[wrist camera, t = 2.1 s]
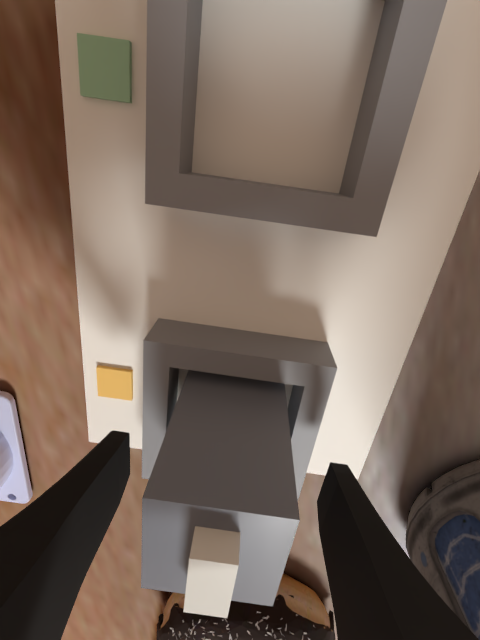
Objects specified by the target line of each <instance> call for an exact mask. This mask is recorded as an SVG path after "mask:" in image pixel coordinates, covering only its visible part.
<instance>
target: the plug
mask: <svg viewBox="0 0 480 640" xmlns="http://www.w3.org/2000/svg"><path fill="white" fill-rule="evenodd" d="M299 521H300V519H299V510H298V500H297V491H296V482H295V473H294V464H293V454H292V445H291V436H290V427H289V418H288V408H287V399H286V390H285V384H284V383H277V382H270V381H263V380H256V379H249V378H242V377H235V376H228V375H221V374H214V373H207V372H200V371H193V370H188V372H187V375H186V378H185V381H184V384H183V386H182V389H181V392H180V395H179V398H178V400H177V403H176V406H175V409H174V411H173V414H172V417H171V420H170V423H169V425H168V428H167V431H166V434H165V436H164V439H163V442H162V445H161V448H160V450H159V453H158V456H157V459H156V461H155V464H154V467H153V470H152V473H151V475H150V478H149V481H148V484H147V486H146V489H145V492H144V495H143V498H142V573H141V588H146V589H153V590H160V591H167V592H174V593H181V594H185V601H184V610H183V612H186V613H193V614H200V615H208V616H215V617H222V618H227V617H228V613H229V608H230V603H231V601H238V602H245V603H252V604H259V605H266V606H273V604H274V601H275V597H276V594H277V591H278V588H279V585H280V581H281V578H282V575H283V572H284V569H285V565H286V562H287V559H288V556H289V553H290V549H291V546H292V543H293V540H294V537H295V533H296V530H297V527H298V524H299Z"/></svg>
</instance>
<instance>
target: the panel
mask: <svg viewBox="0 0 480 640" xmlns="http://www.w3.org/2000/svg"><path fill="white" fill-rule="evenodd" d="M55 8H56V21H57V34H58V47H59V60H60V73H61V85H62V98H63V111H64V124H65V137H66V150H67V163H68V176H69V189H70V202H71V215H72V228H73V241H74V253H75V266H76V279H77V292H78V305H79V318H80V331H81V344H82V357H83V370H84V383H85V396H86V408H87V421H88V434H89V442H95V443H100V442H101V441H102V440H103V439H104V438H105V437H106V436H107V434H108V433H109V432H111V431H112V430H114V431H121V432H128V433H130V448H137V449H142V478H144V479H149V478H150V475H151V473H152V470H153V467H154V464H155V461H156V459H157V456H158V453H159V450H160V448H161V445H162V442H163V439H164V436H165V434H166V431H167V428H168V425H169V423H170V420H171V417H172V414H173V411H174V409H175V406H176V403H177V400H178V398H179V395H180V392H181V389H182V386H183V384H184V381H185V378H186V375H187V372H188V370H193V371H200V372H207V373H214V374H221V375H228V376H235V377H242V378H249V379H256V380H263V381H270V382H277V383H284V384H285V390H286V399H287V408H288V418H289V427H290V436H291V445H292V454H293V464H294V473H295V482H296V491H297V500H298V499H299V495H300V492H301V489H302V485H303V482H304V478H305V475H306V473H312V474H319V475H326V473H327V470H328V467H329V464H330V462H332V463H339V464H346V465H348V466H349V468H350V469H351V471H352V473H353V474H354V476H355V478H356V479H357V480H358V478H359V475H360V473H361V470H362V468H363V465H364V463H365V460H366V458H367V455H368V453H369V450H370V448H371V445H372V442H373V440H374V437H375V435H376V432H377V430H378V427H379V425H380V422H381V420H382V417H383V415H384V412H385V409H386V407H387V404H388V402H389V399H390V397H391V394H392V392H393V389H394V387H395V384H396V381H397V379H398V376H399V374H400V371H401V369H402V366H403V364H404V361H405V359H406V356H407V354H408V351H409V348H410V346H411V343H412V341H413V338H414V336H415V333H416V331H417V328H418V326H419V323H420V321H421V318H422V315H423V313H424V310H425V308H426V305H427V303H428V300H429V298H430V295H431V293H432V290H433V288H434V285H435V282H436V280H437V277H438V275H439V272H440V270H441V267H442V265H443V262H444V260H445V257H446V254H447V252H448V249H449V247H450V244H451V242H452V239H453V237H454V234H455V232H456V229H457V227H458V224H459V221H460V219H461V216H462V214H463V211H464V209H465V206H466V204H467V201H468V199H469V196H470V194H471V191H472V188H473V186H474V183H475V181H476V178H477V176H478V173H479V171H480V0H55Z"/></svg>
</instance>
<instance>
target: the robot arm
mask: <svg viewBox="0 0 480 640" xmlns="http://www.w3.org/2000/svg"><path fill="white" fill-rule="evenodd" d="M129 475H130V433H128V432H121V431H114V430H112V431H111V432H109V433H108V434H107V436H106V437H105V438H104V439H103V440H102V441H101V442H100V443H99V444H97V445H96V446H95V447H94V448H93V449H92V450H91V451H90V452H89V453H88V454H87V455H86V456H85V457H84V458H83V459H82V460H81V461H80V462H79V463H78V464H77V465H75V466H74V467H73V468H72V469H71V470H70V471H69V472H68V473H67V474H66V475H64V476H63V477H62V478H61V479H60V480H59V481H58V482H56V483H55V484H54V485H53V486H52V487H50V488H49V489H48V490H47V491H46V492H44V493H43V494H42V495H41V496H40V497H38V498H37V499H36V500H35V501H34V502H32V503H31V504H30V505H28V506H27V507H26V508H25V509H23V510H22V511H21V512H19V513H18V514H17V515H15V516H14V517H13V518H11V519H10V520H9V521H7V522H6V523H4V524H3V525H2V526H0V640H61V637H62V635H63V632H64V629H65V626H66V624H67V621H68V618H69V616H70V613H71V611H72V608H73V605H74V603H75V600H76V598H77V595H78V592H79V590H80V587H81V585H82V583H83V580H84V578H85V576H86V573H87V571H88V569H89V567H90V565H91V563H92V561H93V559H94V556H95V554H96V552H97V550H98V548H99V546H100V544H101V542H102V540H103V538H104V535H105V533H106V531H107V529H108V527H109V525H110V523H111V521H112V519H113V516H114V514H115V512H116V510H117V508H118V506H119V504H120V501H121V498H122V495H123V493H124V490H125V487H126V484H127V481H128V478H129ZM31 497H32V489H31V484H30V478H29V473H28V468H27V462H26V457H25V452H24V446H23V441H22V436H21V430H20V425H19V420H18V414H17V409H16V404H15V400H14V397H13V396H12V395H11V394H9V393H8V392H4V391H0V500H1V501H8V502H15V503H27V502H28V501H29V500H30V499H31ZM317 507H318V521H319V532H320V538H321V544H322V549H323V555H324V560H325V565H326V571H327V576H328V581H329V586H330V592H331V597H332V602H333V608H334V614H335V620H336V627H337V637H338V640H479V639H478V638H477V637H476V636H475V635H474V634H473V633H472V631H471V630H470V629H469V628H468V627H467V626H466V625H465V624H464V623H463V622H462V621H461V619H460V618H459V617H458V616H457V615H456V614H455V613H454V612H453V611H452V610H451V609H450V608H449V606H448V605H447V604H446V603H445V602H444V601H443V599H442V598H441V597H440V596H439V595H438V594H437V592H436V591H435V590H434V589H433V588H432V586H431V585H430V584H429V583H428V582H427V580H426V579H425V578H424V577H423V575H422V574H421V573H420V572H419V570H418V569H417V568H416V566H415V565H414V564H413V563H412V561H411V560H410V559H409V557H408V556H407V555H406V553H405V552H404V550H403V549H402V548H401V546H400V545H399V544H398V542H397V541H396V539H395V538H394V537H393V535H392V534H391V532H390V531H389V529H388V528H387V526H386V525H385V523H384V522H383V520H382V519H381V517H380V516H379V514H378V513H377V511H376V510H375V508H374V507H373V505H372V504H371V502H370V500H369V499H368V497H367V496H366V494H365V492H364V491H363V489H362V488H361V486H360V484H359V483H358V481H357V479H356V478H355V476H354V474H353V473H352V471H351V469H350V468H349V466H348V465H346V464H339V463H332V462H330V464H329V467H328V470H327V473H326V476H325V479H324V482H323V485H322V488H321V491H320V494H319V497H318V500H317Z"/></svg>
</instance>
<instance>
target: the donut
mask: <svg viewBox="0 0 480 640" xmlns="http://www.w3.org/2000/svg"><path fill="white" fill-rule="evenodd" d="M184 601H185V594H181V593H174V592H173V593H172V594H171V596H170V598H169V599H168V601H167V604H166V607H165V609H164V615H163V614H160V616H159V622H158V624H157V640H335V633H334V620H333V612H332V611H329V616H328V613H327V611H326V609H325V607H324V605H323V603H322V602H321V600H320V599H319V597H318V596H317V594H316V593H315V592H314V591H313V590H312V589H310V588H309V587H307V586H306V585H304V584H303V583H301V582H299V581H297V580H295V579H293V578H291V577H290V576H288V575H286V574H284V573H283V575H282V578H281V581H280V585H279V588H278V591H277V594H276V597H275V601H274V604H273V606H266V605H259V604H252V603H245V602H238V601H231V603H230V608H229V613H228V617H227V618H222V617H215V616H208V615H200V614H193V613H186V612H183V610H184Z"/></svg>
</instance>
